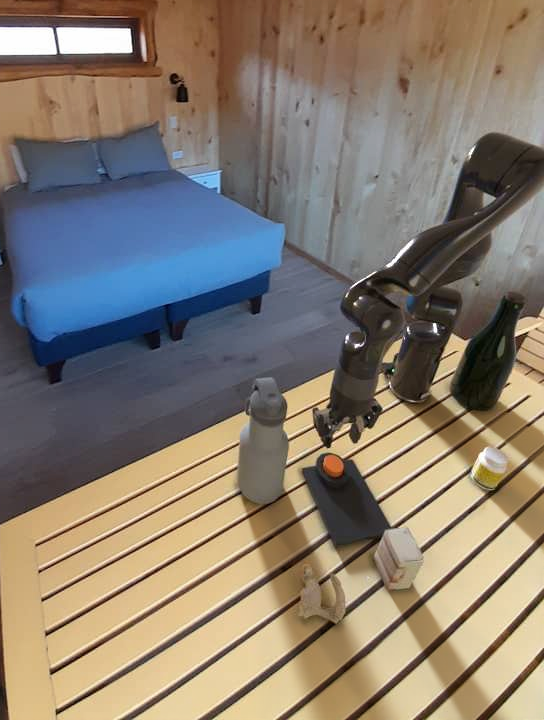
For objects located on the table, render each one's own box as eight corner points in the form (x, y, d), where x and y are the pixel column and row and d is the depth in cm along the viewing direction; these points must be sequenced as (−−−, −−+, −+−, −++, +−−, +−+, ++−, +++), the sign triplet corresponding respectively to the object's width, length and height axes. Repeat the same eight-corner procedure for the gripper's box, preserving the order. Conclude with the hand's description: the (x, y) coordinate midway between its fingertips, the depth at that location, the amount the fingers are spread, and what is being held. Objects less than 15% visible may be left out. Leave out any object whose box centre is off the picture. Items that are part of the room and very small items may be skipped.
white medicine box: (372, 557, 74) (383, 527, 70) (394, 555, 75) (408, 525, 70) (386, 592, 70) (400, 562, 65) (410, 589, 70) (426, 560, 65)
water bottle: (232, 461, 91) (238, 371, 79) (274, 457, 92) (286, 367, 79) (242, 508, 82) (250, 415, 69) (288, 503, 83) (305, 410, 70)
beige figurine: (275, 587, 69) (307, 548, 67) (297, 577, 73) (327, 541, 71) (310, 648, 63) (346, 608, 60) (331, 634, 67) (366, 596, 64)
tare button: (319, 461, 88) (320, 456, 88) (336, 458, 89) (337, 453, 88) (328, 479, 85) (329, 474, 84) (345, 475, 85) (347, 470, 85)
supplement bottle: (500, 493, 84) (515, 468, 80) (475, 488, 85) (488, 463, 81) (489, 471, 88) (503, 446, 85) (466, 467, 89) (478, 442, 85)
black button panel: (298, 465, 90) (300, 457, 89) (347, 457, 92) (350, 448, 91) (334, 547, 76) (337, 539, 74) (392, 535, 78) (395, 526, 76)
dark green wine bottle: (442, 395, 107) (482, 293, 92) (456, 375, 113) (496, 277, 98) (487, 420, 100) (539, 315, 85) (500, 398, 106) (550, 295, 91)
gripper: (377, 363, 79) (361, 421, 87) (309, 373, 77) (299, 431, 85) (401, 393, 73) (381, 453, 81) (328, 404, 71) (315, 465, 79)
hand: (339, 441), depth 83 cm, fingers open, 5 cm apart
